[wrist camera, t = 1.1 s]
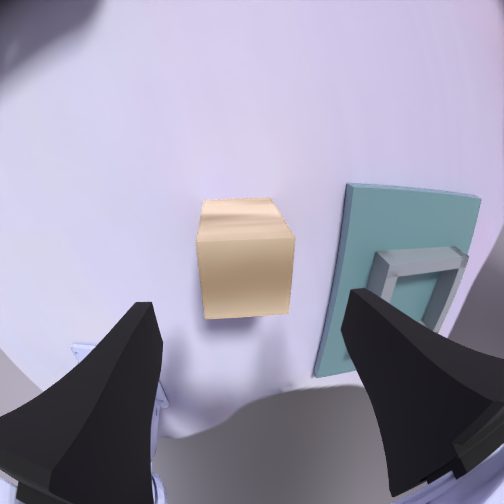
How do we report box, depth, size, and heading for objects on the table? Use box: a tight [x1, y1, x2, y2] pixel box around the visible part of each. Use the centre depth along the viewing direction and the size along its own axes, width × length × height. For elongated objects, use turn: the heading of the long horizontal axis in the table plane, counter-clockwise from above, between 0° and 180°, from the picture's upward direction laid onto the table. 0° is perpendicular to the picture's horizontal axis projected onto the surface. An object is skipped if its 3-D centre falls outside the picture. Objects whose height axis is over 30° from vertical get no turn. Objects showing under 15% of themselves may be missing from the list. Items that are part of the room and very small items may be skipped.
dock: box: [314, 183, 481, 378], centre depth 20 cm, size 18×14×3 cm
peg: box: [196, 198, 295, 319], centre depth 14 cm, size 4×4×6 cm
